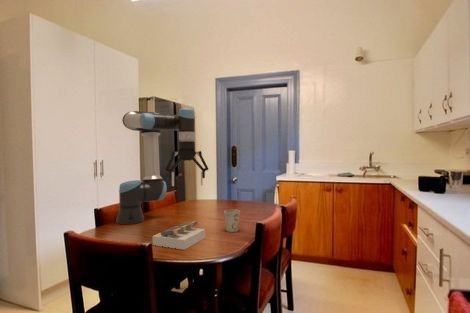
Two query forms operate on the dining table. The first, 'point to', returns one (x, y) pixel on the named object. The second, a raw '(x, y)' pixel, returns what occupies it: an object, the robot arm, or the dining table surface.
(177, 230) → the rocker
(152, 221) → the dining table surface
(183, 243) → the switch unit
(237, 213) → the mug
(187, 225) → the rocker
